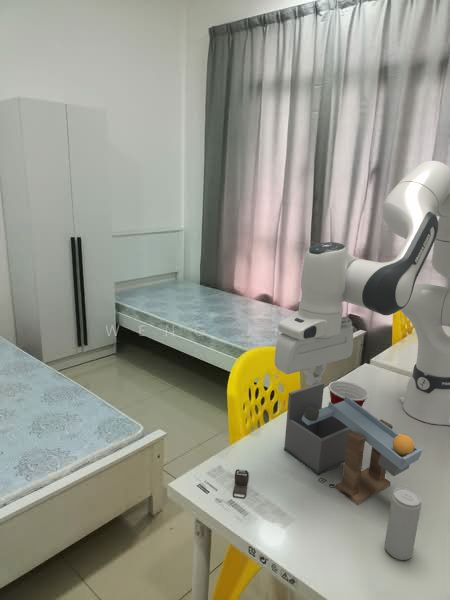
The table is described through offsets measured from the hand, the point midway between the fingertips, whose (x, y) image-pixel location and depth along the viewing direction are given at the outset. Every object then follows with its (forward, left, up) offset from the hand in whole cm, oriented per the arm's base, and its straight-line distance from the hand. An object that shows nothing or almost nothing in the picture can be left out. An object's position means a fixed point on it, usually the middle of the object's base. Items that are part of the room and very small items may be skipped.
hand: (312, 383), depth 91 cm
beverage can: (-1, +24, -24) cm, 34 cm away
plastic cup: (-26, -10, -24) cm, 37 cm away
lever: (-6, +8, -13) cm, 17 cm away
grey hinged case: (+13, -6, -25) cm, 29 cm away
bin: (-10, -5, -24) cm, 26 cm away
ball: (-10, +17, -9) cm, 21 cm away
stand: (-10, +9, -24) cm, 27 cm away
